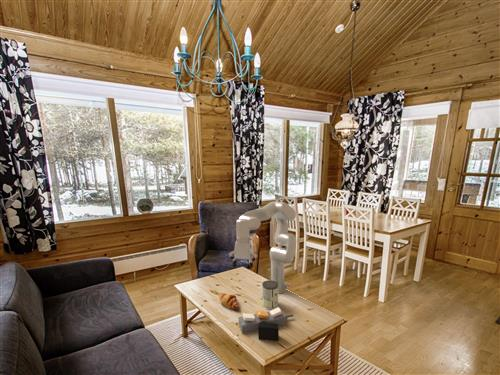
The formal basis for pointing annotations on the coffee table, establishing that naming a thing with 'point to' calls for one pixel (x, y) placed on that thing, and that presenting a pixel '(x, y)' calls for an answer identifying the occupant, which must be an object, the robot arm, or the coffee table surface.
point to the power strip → (253, 325)
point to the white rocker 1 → (248, 317)
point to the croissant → (229, 300)
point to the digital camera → (268, 331)
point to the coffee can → (270, 294)
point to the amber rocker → (262, 314)
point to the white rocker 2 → (275, 312)
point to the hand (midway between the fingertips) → (243, 267)
